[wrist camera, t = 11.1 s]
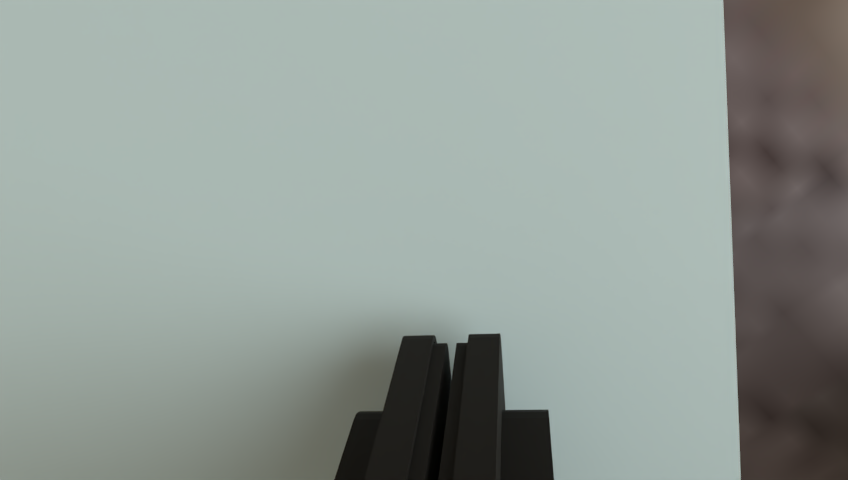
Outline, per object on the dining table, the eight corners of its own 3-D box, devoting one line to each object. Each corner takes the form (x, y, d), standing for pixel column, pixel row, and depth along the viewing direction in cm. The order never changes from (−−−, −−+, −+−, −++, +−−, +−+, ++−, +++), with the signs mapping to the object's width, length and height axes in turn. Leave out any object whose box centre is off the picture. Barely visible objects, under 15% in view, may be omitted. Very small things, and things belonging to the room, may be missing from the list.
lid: (702, -97, 13) (718, -130, 12) (726, 544, 13) (744, 574, 12) (-193, -1, 17) (-250, -20, 15) (-181, 512, 16) (-238, 532, 15)
